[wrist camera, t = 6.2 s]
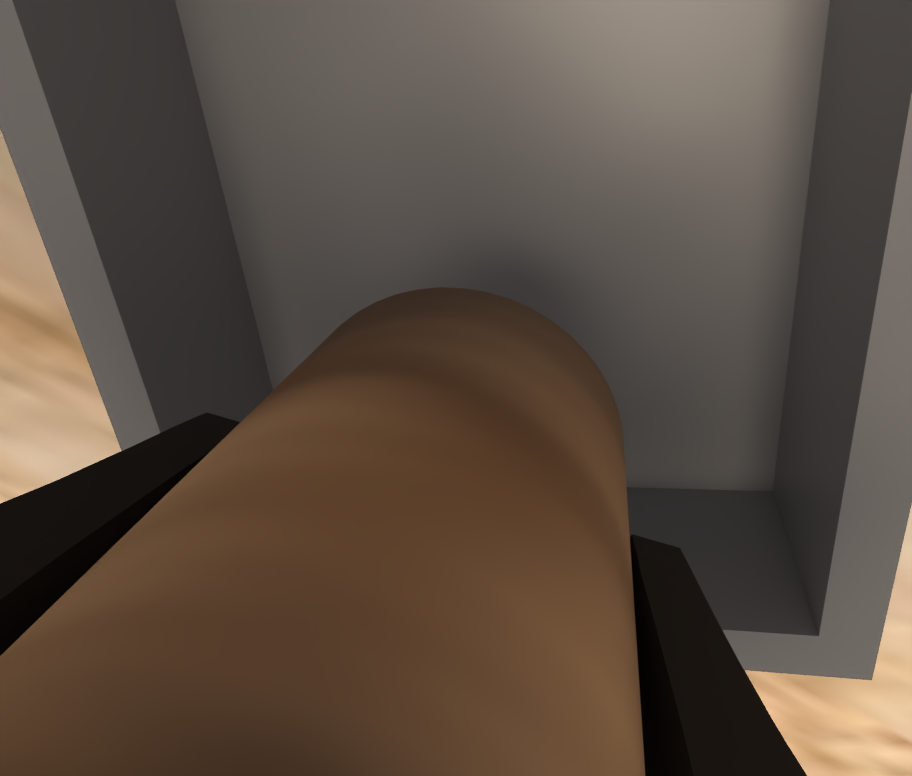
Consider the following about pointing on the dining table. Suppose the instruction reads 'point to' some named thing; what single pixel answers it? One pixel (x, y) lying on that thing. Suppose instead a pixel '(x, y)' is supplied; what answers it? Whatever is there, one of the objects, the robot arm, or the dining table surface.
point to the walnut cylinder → (365, 576)
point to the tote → (521, 239)
